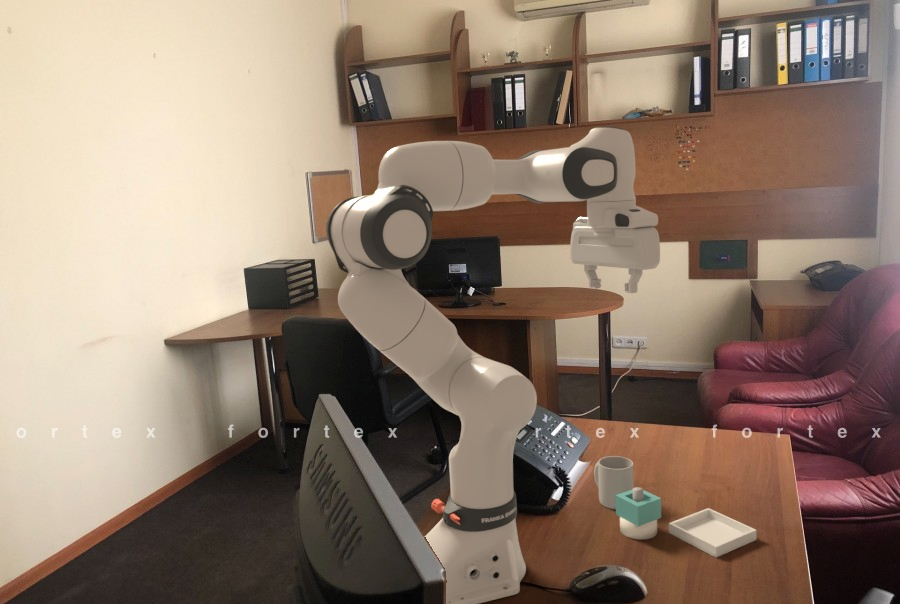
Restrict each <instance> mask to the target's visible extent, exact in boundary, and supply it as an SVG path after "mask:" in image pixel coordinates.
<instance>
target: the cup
mask: <svg viewBox="0 0 900 604" xmlns="http://www.w3.org/2000/svg"><path fill="white" fill-rule="evenodd" d="M593 475H594V477H593V478H594V481H595V484H596V487H597V488H598V500H599V501H598V502H599V503H600V505H602V506H603V507H604V508H606V509H611V510H616V496H615V495H618V494H621V493H623V492H626V491H629V490H632V489H633V488H635V487H634V462H633V461H632V459H630V458H627V457H624V456H621V455H619V456H618V455H611V456H610V455H609V456H608V455H607V456H604V457H601V458H600V459H598V461H597V462H596V463H595V465H594V470H593Z"/></svg>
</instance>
